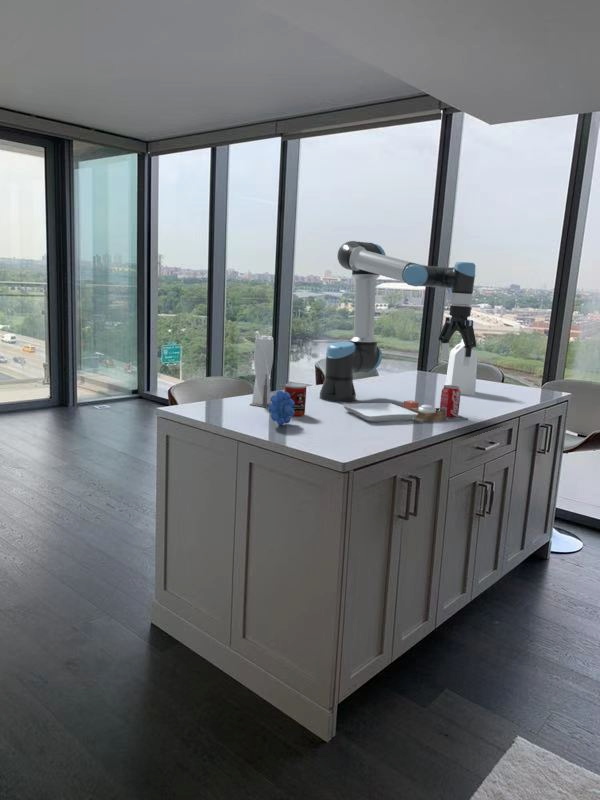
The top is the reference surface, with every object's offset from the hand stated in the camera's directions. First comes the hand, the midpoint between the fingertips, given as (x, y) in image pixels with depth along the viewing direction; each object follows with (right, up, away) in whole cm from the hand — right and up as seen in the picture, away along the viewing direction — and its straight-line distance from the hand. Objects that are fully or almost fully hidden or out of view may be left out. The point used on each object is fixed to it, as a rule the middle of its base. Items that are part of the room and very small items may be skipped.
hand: (454, 362), depth 229 cm
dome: (-10, -19, 0) cm, 22 cm away
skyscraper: (-72, -16, +8) cm, 75 cm away
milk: (+18, -10, +62) cm, 66 cm away
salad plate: (-28, -20, -1) cm, 35 cm away
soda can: (-1, -21, +4) cm, 21 cm away
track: (-3, -20, +8) cm, 21 cm away
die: (-14, -18, +11) cm, 26 cm away
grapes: (-63, -23, -24) cm, 71 cm away
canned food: (-60, -19, -6) cm, 63 cm away
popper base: (-10, -21, 0) cm, 23 cm away
